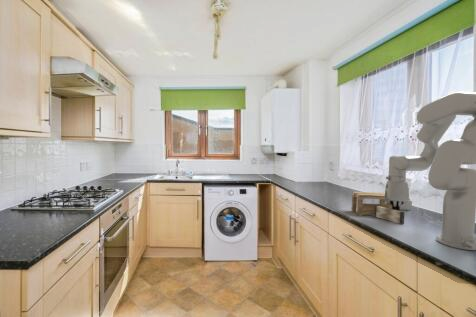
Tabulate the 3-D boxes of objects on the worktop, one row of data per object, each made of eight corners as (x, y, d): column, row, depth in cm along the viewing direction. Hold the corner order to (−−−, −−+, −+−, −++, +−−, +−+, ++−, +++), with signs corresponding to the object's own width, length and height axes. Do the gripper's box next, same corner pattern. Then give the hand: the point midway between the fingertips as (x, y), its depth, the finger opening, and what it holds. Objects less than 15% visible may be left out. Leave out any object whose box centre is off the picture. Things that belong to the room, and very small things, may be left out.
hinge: (407, 208, 149) (410, 195, 145) (410, 212, 145) (414, 199, 141) (379, 206, 152) (382, 193, 148) (381, 210, 148) (384, 197, 144)
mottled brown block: (374, 216, 128) (374, 205, 128) (375, 216, 129) (376, 205, 129) (402, 224, 116) (402, 212, 115) (404, 223, 117) (404, 212, 116)
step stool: (392, 217, 128) (393, 196, 128) (358, 215, 130) (359, 194, 130) (382, 212, 138) (383, 192, 138) (351, 211, 140) (352, 191, 139)
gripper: (385, 179, 118) (384, 214, 119) (416, 180, 117) (415, 216, 117) (378, 178, 126) (377, 210, 126) (407, 178, 124) (406, 212, 125)
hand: (395, 213), depth 122 cm, fingers closed
